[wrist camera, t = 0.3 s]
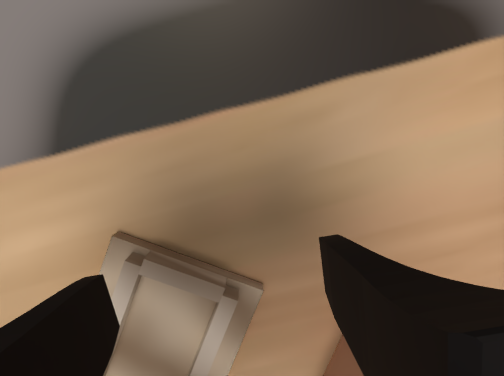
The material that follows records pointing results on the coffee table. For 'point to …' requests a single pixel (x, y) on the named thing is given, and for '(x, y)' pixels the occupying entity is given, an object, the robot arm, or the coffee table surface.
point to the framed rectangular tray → (174, 311)
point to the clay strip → (343, 362)
